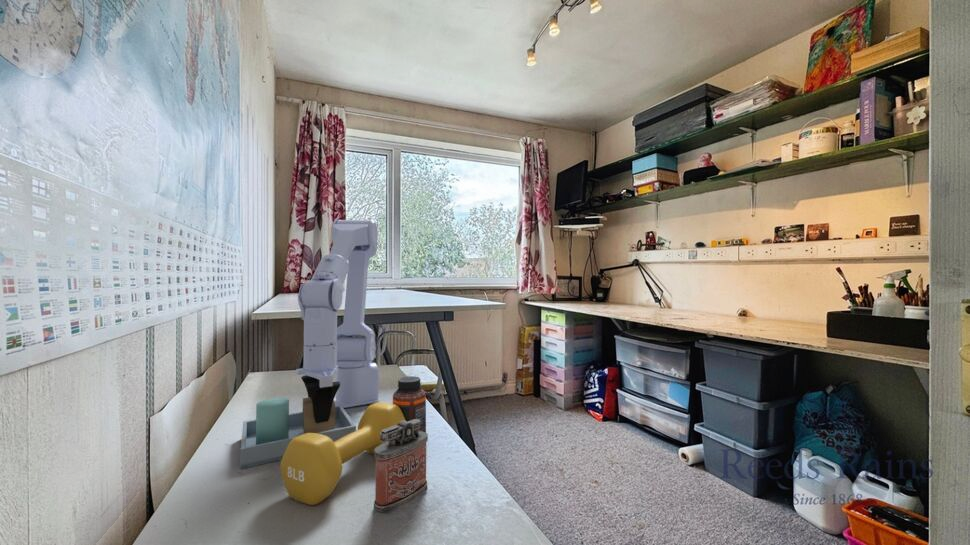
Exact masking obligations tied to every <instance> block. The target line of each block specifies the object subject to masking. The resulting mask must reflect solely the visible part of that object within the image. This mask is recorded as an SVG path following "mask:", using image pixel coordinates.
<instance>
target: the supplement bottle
mask: <svg viewBox="0 0 970 545" xmlns="http://www.w3.org/2000/svg"><path fill="white" fill-rule="evenodd" d="M426 397H427V394H426V391H425V390H424V388H422V387H421V377H419V376H410V375H409V376H404V377H400V378H398V380H397V389H396V390H395V391H394V392H393V394H392V404H395V405H397V406H398V407H399V408H400V409H401V411H402V413H403V416H404V418H405V420H406V421H407V422H408V421H411V420H414V419H418V420H420V428H419V431H423V432H426V433H427V398H426Z"/></svg>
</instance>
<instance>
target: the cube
mask: <svg viewBox="0 0 970 545" xmlns="http://www.w3.org/2000/svg"><path fill="white" fill-rule="evenodd" d="M302 412H303V416H302V425H303V430H304V434H306V433H316V432H322V431H327V430H332V429H335V401H334V400H333V404H332V408H331V413H330V417H329V420H328V421H326V422H321V423H316V422H315V418H314V413H313V406H312V401H311V397H309V398H308V397H302Z"/></svg>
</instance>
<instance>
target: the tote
mask: <svg viewBox="0 0 970 545" xmlns="http://www.w3.org/2000/svg"><path fill="white" fill-rule="evenodd" d="M302 416H303V411H298V412H293V413H289V438H288V439H283V440H278V441H273V442H268V443H263V444H258V445H256V419H250V420H245V421H243V422H242V430H241V431H242V432H241V433H242V434H241V440H240V441H241V444H240V470H242V469H247V468H251V467H256V466H260V465H265V464H269V463H273V462H278V461H281V460H282V458H283V455H284V453H285V451H286V448H287V446H288V444H289V443H290V441H291V440H292V439H294V438H295V437H298V436H300V435H303V434H304V430H303V425H302ZM355 431H357V426H356V424H355V422H354V421H353V420H352V418H351V417H350V415H349V414H348V413H347V411H346V410H345V408H343V407H342V405H339V406H335V429H332V430H327V431H322V432H316V433H318V434H322V435H325V436H328V437H329V438H331V439H332V440H333V442H335V441H337V440H339V439H340V438H342V437H344V436H346V435H348V434H350V433H352V432H355Z"/></svg>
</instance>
